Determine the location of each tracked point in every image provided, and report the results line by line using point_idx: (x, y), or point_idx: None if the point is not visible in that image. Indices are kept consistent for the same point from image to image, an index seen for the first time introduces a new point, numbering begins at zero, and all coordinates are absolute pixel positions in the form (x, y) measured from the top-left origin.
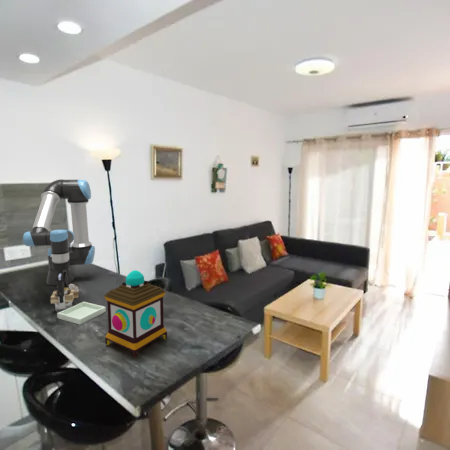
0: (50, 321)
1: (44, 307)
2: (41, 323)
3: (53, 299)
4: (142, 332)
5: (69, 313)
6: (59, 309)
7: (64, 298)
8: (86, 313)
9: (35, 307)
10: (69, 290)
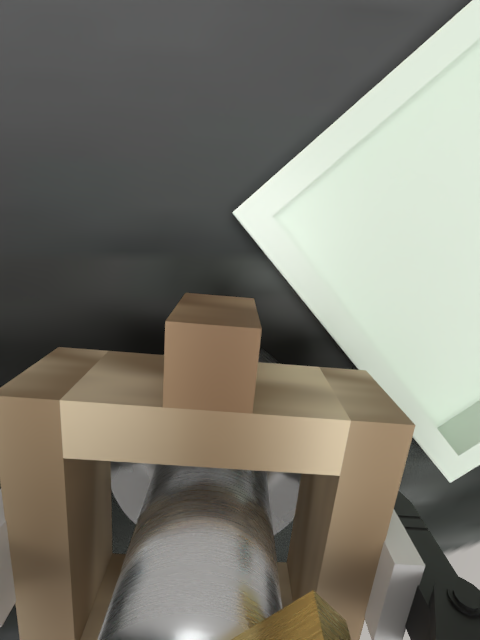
0: (454, 488)
1: (117, 549)
2: (453, 539)
3: None
4: None
5: (402, 361)
6: None
7: (395, 517)
8: None
9: None
10: (68, 481)
